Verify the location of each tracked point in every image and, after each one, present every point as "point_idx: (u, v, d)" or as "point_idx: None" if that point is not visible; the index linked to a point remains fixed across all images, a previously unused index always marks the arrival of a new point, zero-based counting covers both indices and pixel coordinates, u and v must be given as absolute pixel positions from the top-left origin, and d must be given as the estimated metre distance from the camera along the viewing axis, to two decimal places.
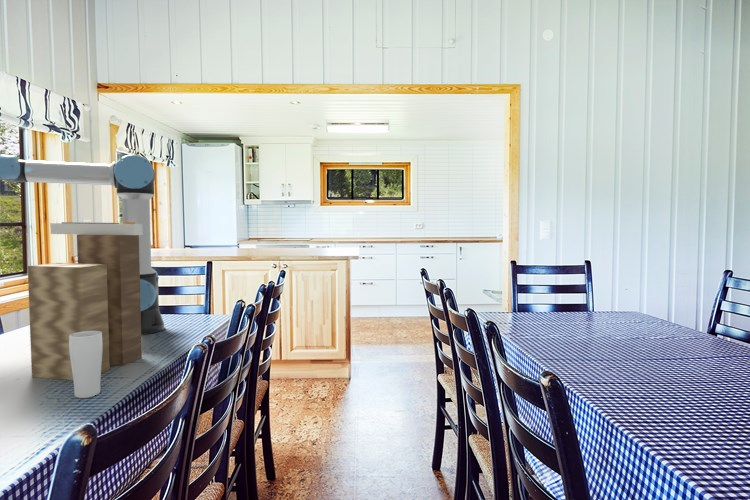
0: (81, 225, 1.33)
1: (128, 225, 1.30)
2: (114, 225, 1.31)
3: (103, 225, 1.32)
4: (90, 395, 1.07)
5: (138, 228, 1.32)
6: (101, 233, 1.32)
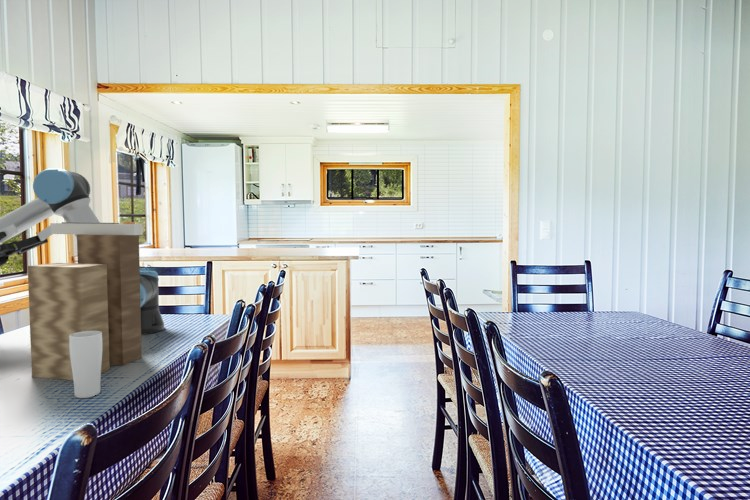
0: (81, 225, 1.33)
1: (128, 225, 1.30)
2: (114, 225, 1.31)
3: (103, 225, 1.32)
4: (90, 395, 1.07)
5: (138, 228, 1.32)
6: (101, 233, 1.32)
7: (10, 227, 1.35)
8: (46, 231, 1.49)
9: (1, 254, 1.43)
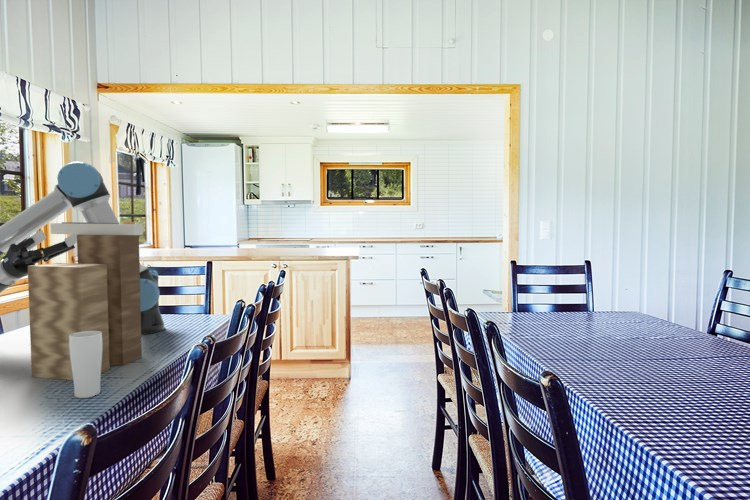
0: (81, 225, 1.33)
1: (128, 225, 1.30)
2: (114, 225, 1.31)
3: (103, 225, 1.32)
4: (90, 395, 1.07)
5: (138, 228, 1.32)
6: (101, 233, 1.32)
7: (38, 233, 1.29)
8: (73, 237, 1.42)
9: (28, 261, 1.36)
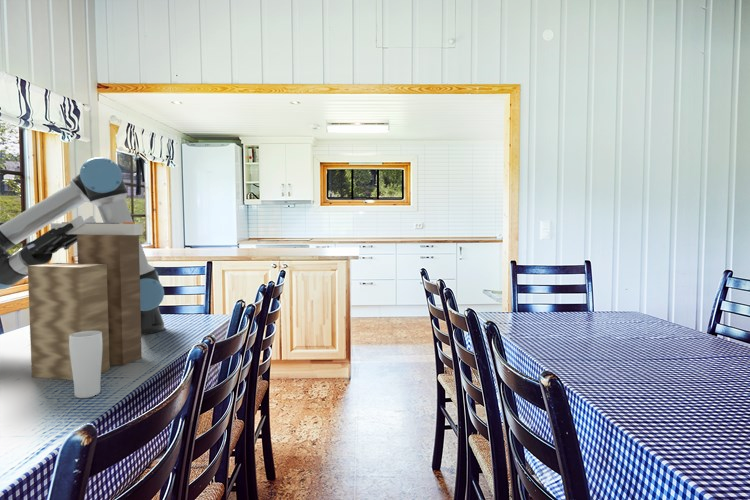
0: None
1: (128, 225, 1.30)
2: (114, 225, 1.31)
3: (104, 225, 1.32)
4: (90, 395, 1.07)
5: (138, 228, 1.32)
6: (101, 233, 1.32)
7: (77, 219, 1.32)
8: None
9: (48, 251, 1.36)
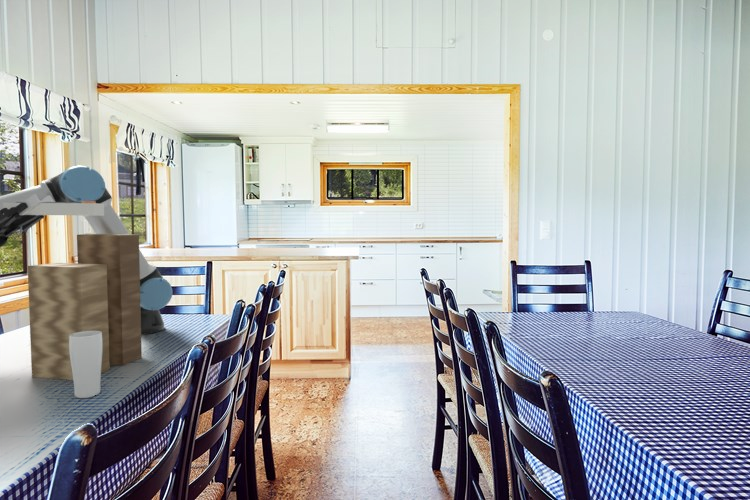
0: None
1: (87, 204, 1.18)
2: (72, 204, 1.19)
3: (61, 204, 1.20)
4: (90, 395, 1.07)
5: (99, 208, 1.20)
6: (58, 213, 1.20)
7: (32, 197, 1.20)
8: None
9: (1, 233, 1.24)
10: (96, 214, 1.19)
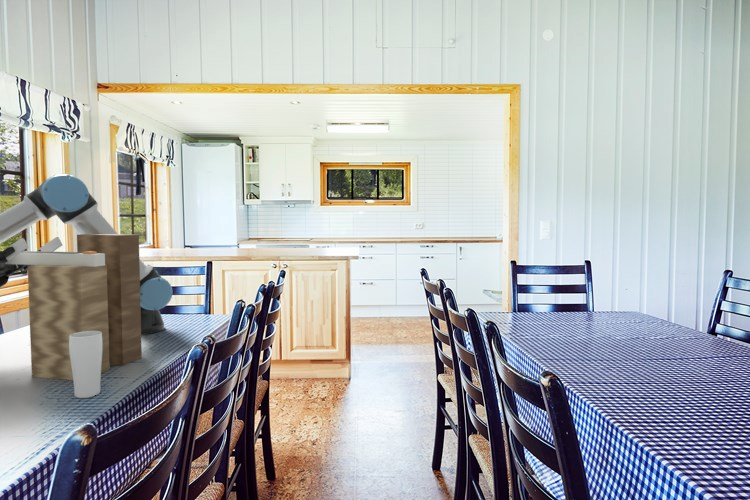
0: (38, 255, 1.21)
1: (88, 255, 1.19)
2: (73, 255, 1.20)
3: (62, 255, 1.20)
4: (90, 395, 1.07)
5: (100, 258, 1.20)
6: (59, 264, 1.20)
7: (19, 241, 1.18)
8: (50, 245, 1.28)
9: (1, 274, 1.24)
10: (97, 265, 1.20)
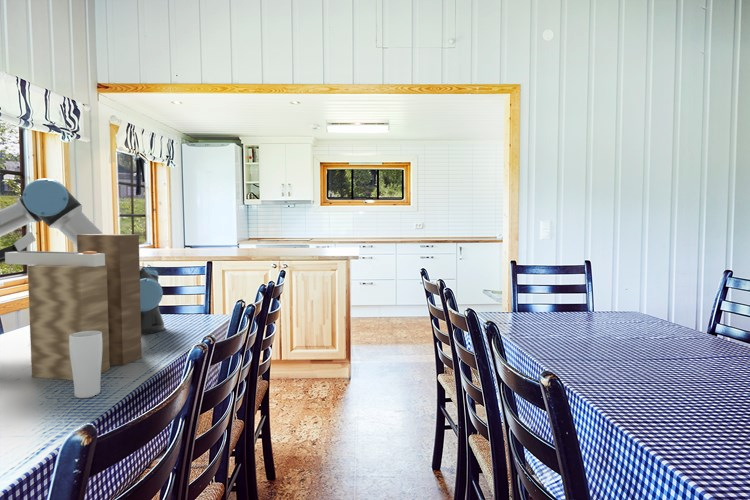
0: (38, 255, 1.21)
1: (88, 255, 1.19)
2: (73, 255, 1.20)
3: (62, 255, 1.20)
4: (90, 395, 1.07)
5: (100, 258, 1.20)
6: (59, 264, 1.20)
7: None
8: (24, 240, 1.35)
9: None
10: (97, 265, 1.20)
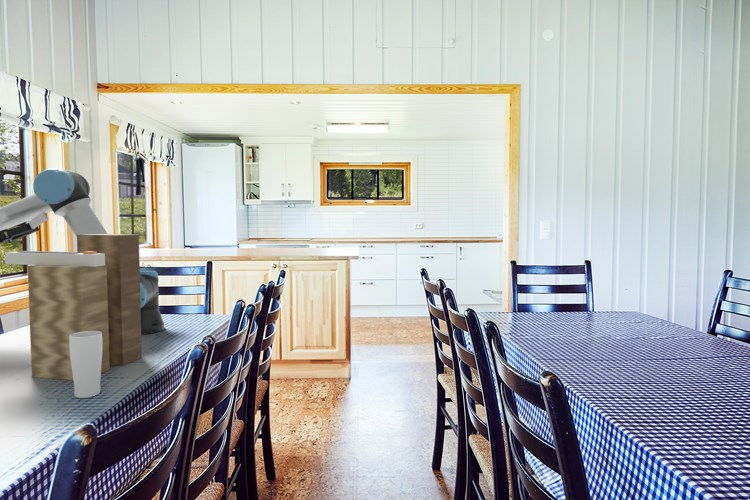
0: (38, 255, 1.21)
1: (88, 255, 1.19)
2: (73, 255, 1.20)
3: (62, 255, 1.20)
4: (90, 395, 1.07)
5: (100, 258, 1.20)
6: (59, 264, 1.20)
7: (0, 213, 1.34)
8: (37, 219, 1.47)
9: None
10: (97, 265, 1.20)
